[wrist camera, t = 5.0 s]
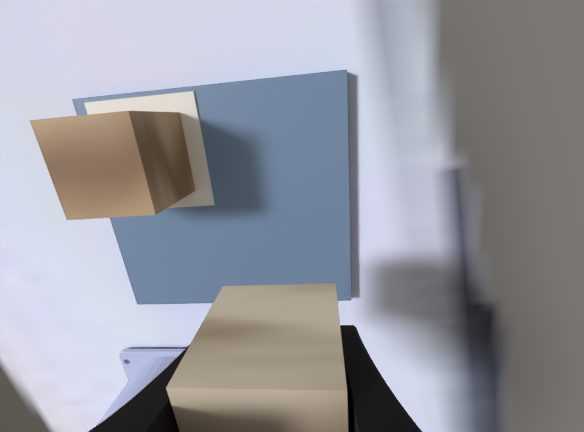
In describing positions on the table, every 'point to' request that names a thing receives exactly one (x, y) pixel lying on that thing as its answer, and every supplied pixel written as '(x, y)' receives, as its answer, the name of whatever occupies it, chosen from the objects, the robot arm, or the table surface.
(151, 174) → the oak block
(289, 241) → the board
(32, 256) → the table surface
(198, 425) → the maple block
